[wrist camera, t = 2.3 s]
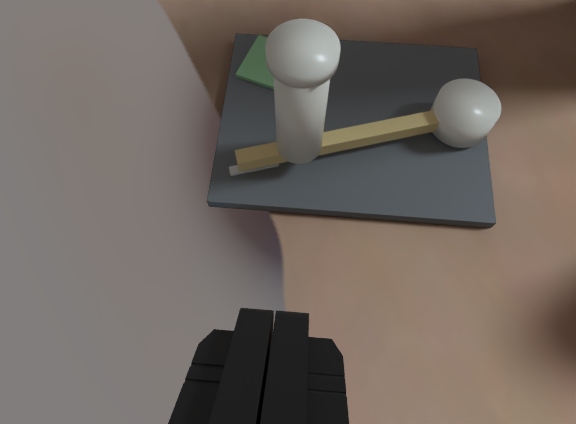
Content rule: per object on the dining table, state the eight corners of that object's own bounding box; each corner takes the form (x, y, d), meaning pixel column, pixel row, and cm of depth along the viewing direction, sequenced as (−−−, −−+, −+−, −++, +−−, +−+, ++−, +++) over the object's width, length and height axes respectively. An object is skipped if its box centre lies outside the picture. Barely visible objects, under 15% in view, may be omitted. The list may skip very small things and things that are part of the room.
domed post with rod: (474, 93, 30) (548, -31, 22) (497, 141, 29) (587, 29, 20) (232, 141, 29) (208, 29, 20) (244, 194, 27) (222, 98, 19)
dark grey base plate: (236, 41, 34) (235, 30, 33) (472, 56, 33) (478, 45, 32) (208, 206, 28) (205, 199, 27) (490, 228, 28) (498, 221, 27)
